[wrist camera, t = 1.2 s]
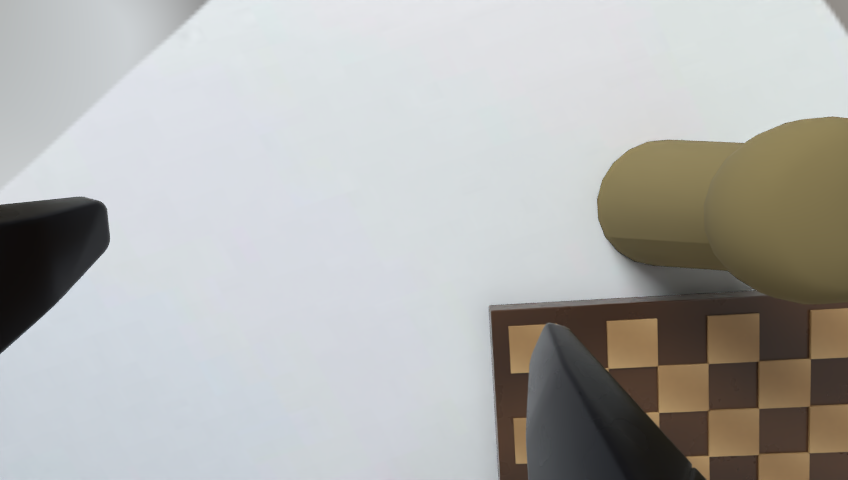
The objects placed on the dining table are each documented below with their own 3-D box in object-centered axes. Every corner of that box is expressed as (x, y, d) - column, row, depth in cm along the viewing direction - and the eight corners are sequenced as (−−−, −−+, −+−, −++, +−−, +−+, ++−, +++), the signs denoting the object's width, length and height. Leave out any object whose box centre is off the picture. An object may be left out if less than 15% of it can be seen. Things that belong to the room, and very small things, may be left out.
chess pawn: (712, 125, 22) (977, 58, 11) (736, 249, 22) (1012, 304, 11) (584, 157, 22) (716, 125, 11) (611, 278, 23) (761, 358, 12)
